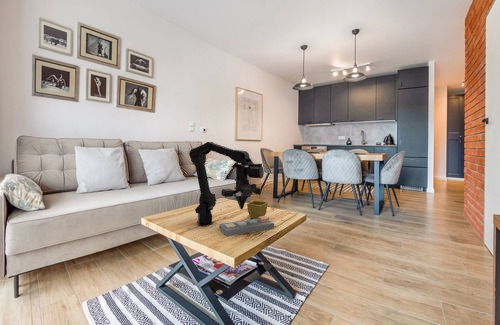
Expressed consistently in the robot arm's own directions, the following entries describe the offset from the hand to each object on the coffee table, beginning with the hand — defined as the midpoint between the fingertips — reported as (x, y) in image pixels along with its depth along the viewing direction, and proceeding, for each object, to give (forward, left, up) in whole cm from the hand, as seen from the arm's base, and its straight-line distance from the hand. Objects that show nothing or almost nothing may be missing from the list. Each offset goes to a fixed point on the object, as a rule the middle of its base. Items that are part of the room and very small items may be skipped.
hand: (241, 209), depth 109 cm
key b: (0, 0, -10) cm, 10 cm away
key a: (-6, 0, -10) cm, 11 cm away
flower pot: (+15, +12, -10) cm, 22 cm away
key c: (+6, 0, -10) cm, 11 cm away
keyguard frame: (+3, 0, -10) cm, 10 cm away
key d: (+12, 0, -8) cm, 15 cm away
